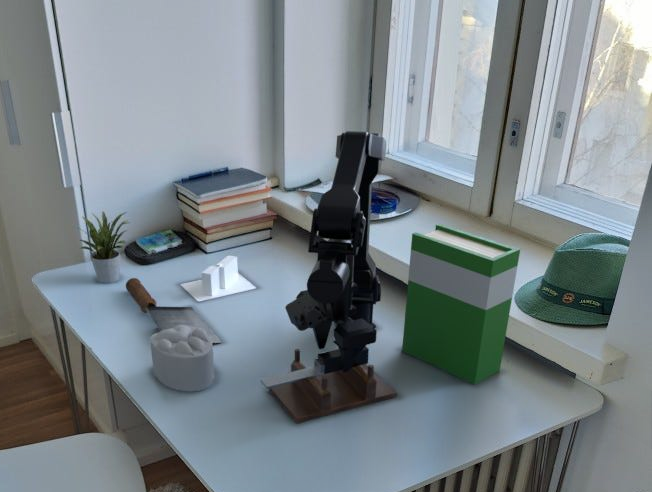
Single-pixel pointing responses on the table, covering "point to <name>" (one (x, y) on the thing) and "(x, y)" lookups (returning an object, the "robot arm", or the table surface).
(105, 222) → the house plant
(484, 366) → the hardback book
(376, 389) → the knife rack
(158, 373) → the lumpy-topped squat cylinder
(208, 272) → the napkin holder
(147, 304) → the meat cleaver
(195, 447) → the table surface
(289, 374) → the kitchen knife
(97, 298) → the table surface
